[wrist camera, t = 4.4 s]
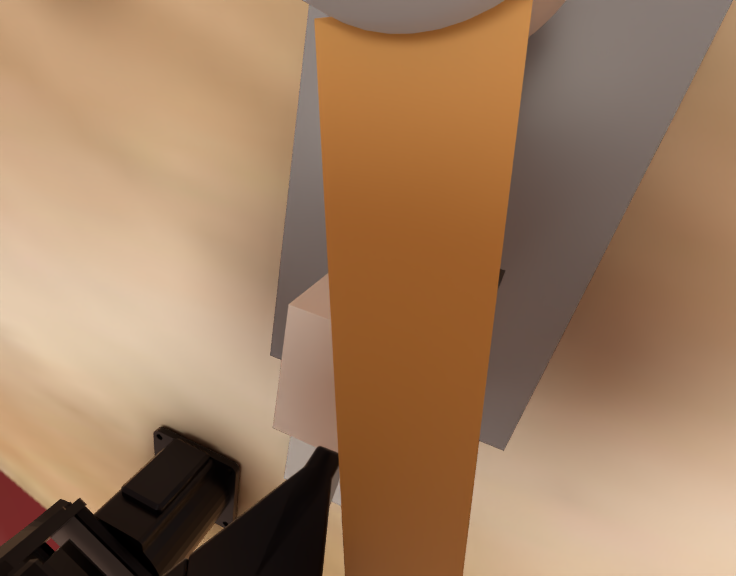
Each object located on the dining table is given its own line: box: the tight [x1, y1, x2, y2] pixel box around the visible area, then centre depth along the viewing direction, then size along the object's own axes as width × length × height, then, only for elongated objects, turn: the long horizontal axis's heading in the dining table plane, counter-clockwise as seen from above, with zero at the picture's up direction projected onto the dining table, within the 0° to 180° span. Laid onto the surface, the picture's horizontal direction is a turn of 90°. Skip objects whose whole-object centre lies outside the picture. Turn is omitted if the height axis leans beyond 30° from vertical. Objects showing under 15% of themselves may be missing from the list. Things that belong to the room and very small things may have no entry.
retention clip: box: [303, 0, 566, 576], centre depth 6 cm, size 14×4×3 cm, turn 1°
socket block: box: [270, 0, 733, 451], centre depth 11 cm, size 15×10×8 cm, turn 168°
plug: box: [273, 274, 338, 452], centre depth 13 cm, size 4×4×8 cm
